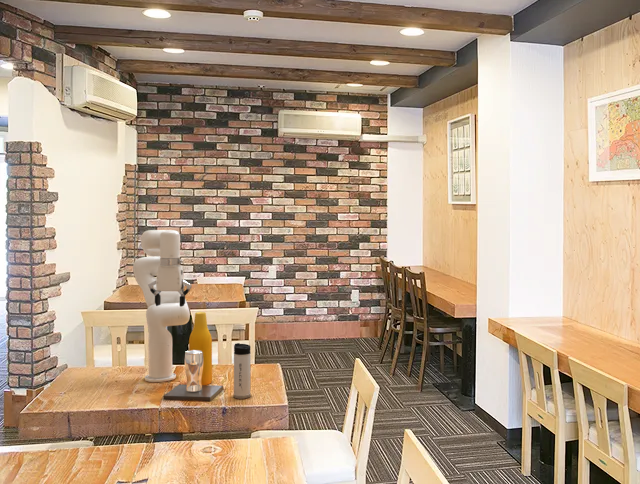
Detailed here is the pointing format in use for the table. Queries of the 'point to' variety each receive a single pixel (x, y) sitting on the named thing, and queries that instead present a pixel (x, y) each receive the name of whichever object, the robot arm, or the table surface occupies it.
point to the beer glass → (194, 370)
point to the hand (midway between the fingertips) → (170, 305)
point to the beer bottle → (202, 345)
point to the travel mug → (242, 371)
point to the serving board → (204, 395)
